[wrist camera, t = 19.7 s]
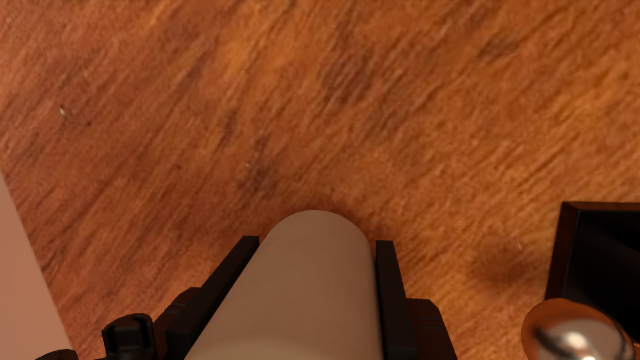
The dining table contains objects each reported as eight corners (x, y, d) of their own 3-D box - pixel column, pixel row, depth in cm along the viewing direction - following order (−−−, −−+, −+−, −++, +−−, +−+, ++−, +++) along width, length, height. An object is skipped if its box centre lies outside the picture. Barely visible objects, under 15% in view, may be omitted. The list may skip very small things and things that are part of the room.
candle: (239, 245, 16) (53, 477, 6) (331, 185, 14) (276, 362, 5) (305, 328, 17) (230, 649, 7) (397, 278, 15) (463, 590, 6)
